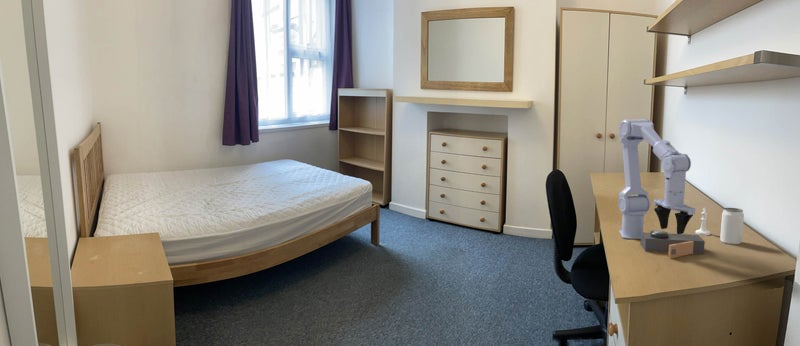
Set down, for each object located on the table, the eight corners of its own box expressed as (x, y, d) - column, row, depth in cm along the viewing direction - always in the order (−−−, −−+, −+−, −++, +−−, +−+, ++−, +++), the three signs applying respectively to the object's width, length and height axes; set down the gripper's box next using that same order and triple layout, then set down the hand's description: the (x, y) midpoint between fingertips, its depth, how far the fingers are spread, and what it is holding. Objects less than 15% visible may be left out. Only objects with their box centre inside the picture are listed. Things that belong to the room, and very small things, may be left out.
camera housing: (640, 244, 178) (641, 228, 177) (696, 247, 174) (698, 230, 173) (645, 251, 171) (646, 234, 170) (703, 254, 167) (705, 236, 166)
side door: (668, 257, 164) (668, 244, 163) (690, 252, 167) (691, 240, 167) (671, 258, 163) (672, 246, 162) (694, 254, 166) (695, 242, 165)
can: (721, 238, 182) (723, 206, 180) (742, 241, 178) (745, 208, 176) (718, 242, 177) (721, 210, 175) (740, 246, 173) (743, 212, 171)
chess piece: (705, 231, 191) (706, 206, 190) (713, 234, 187) (715, 209, 185) (692, 231, 191) (694, 206, 190) (700, 235, 186) (702, 209, 185)
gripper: (647, 188, 168) (645, 226, 171) (684, 196, 155) (681, 238, 157) (663, 186, 171) (660, 224, 173) (701, 194, 157) (698, 235, 159)
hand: (671, 231), depth 165 cm, fingers open, 6 cm apart
